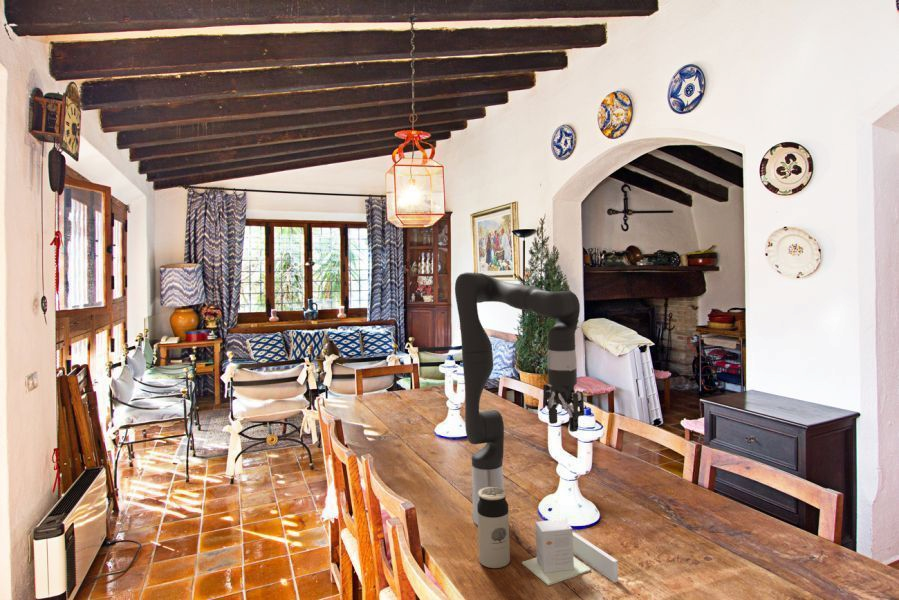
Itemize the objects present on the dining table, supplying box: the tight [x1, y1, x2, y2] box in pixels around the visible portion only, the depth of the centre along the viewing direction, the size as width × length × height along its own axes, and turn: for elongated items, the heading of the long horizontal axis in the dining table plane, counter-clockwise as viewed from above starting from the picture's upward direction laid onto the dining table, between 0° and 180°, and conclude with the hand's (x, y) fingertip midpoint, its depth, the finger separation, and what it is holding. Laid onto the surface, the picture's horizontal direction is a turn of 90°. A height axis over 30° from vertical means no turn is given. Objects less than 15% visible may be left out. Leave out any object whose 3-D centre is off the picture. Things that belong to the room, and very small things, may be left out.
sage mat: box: [521, 556, 592, 586], centre depth 130 cm, size 11×13×1 cm
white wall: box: [573, 531, 619, 583], centre depth 132 cm, size 20×1×5 cm, turn 26°
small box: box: [535, 518, 574, 573], centre depth 129 cm, size 8×6×10 cm
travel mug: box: [477, 487, 511, 569], centre depth 133 cm, size 8×8×18 cm
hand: (563, 427), depth 137 cm, fingers open, 8 cm apart
